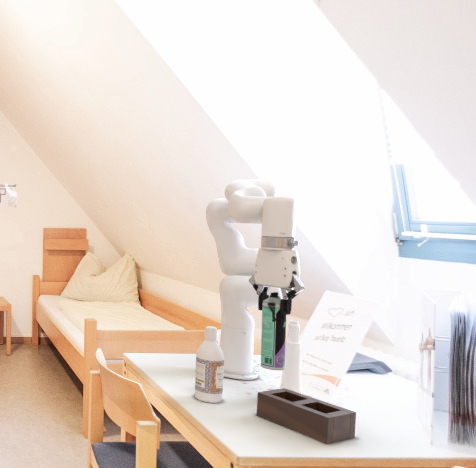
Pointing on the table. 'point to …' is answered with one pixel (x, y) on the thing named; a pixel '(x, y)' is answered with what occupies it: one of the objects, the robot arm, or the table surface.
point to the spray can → (273, 334)
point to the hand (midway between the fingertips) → (274, 311)
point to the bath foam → (209, 368)
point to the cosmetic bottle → (292, 359)
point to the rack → (307, 415)
